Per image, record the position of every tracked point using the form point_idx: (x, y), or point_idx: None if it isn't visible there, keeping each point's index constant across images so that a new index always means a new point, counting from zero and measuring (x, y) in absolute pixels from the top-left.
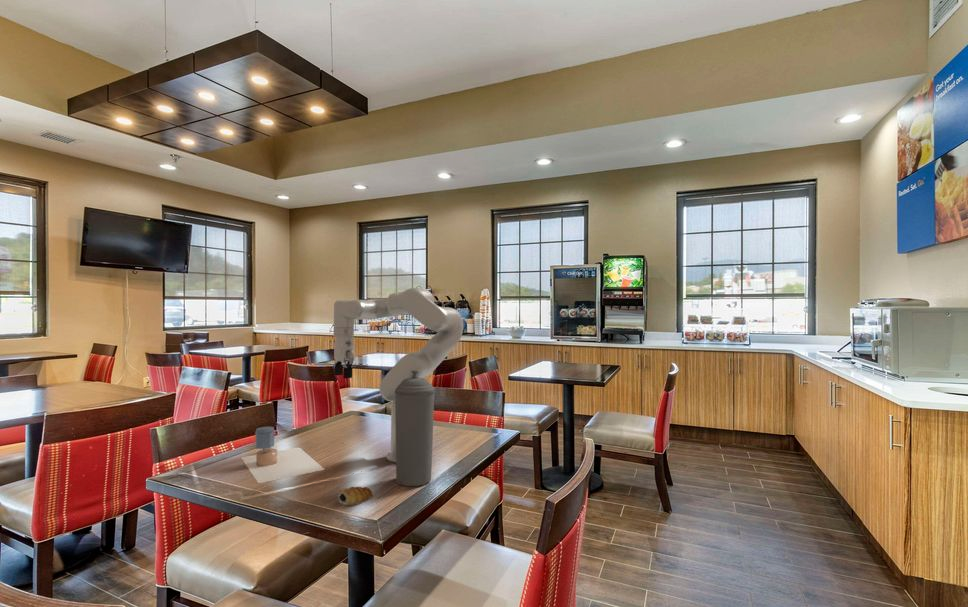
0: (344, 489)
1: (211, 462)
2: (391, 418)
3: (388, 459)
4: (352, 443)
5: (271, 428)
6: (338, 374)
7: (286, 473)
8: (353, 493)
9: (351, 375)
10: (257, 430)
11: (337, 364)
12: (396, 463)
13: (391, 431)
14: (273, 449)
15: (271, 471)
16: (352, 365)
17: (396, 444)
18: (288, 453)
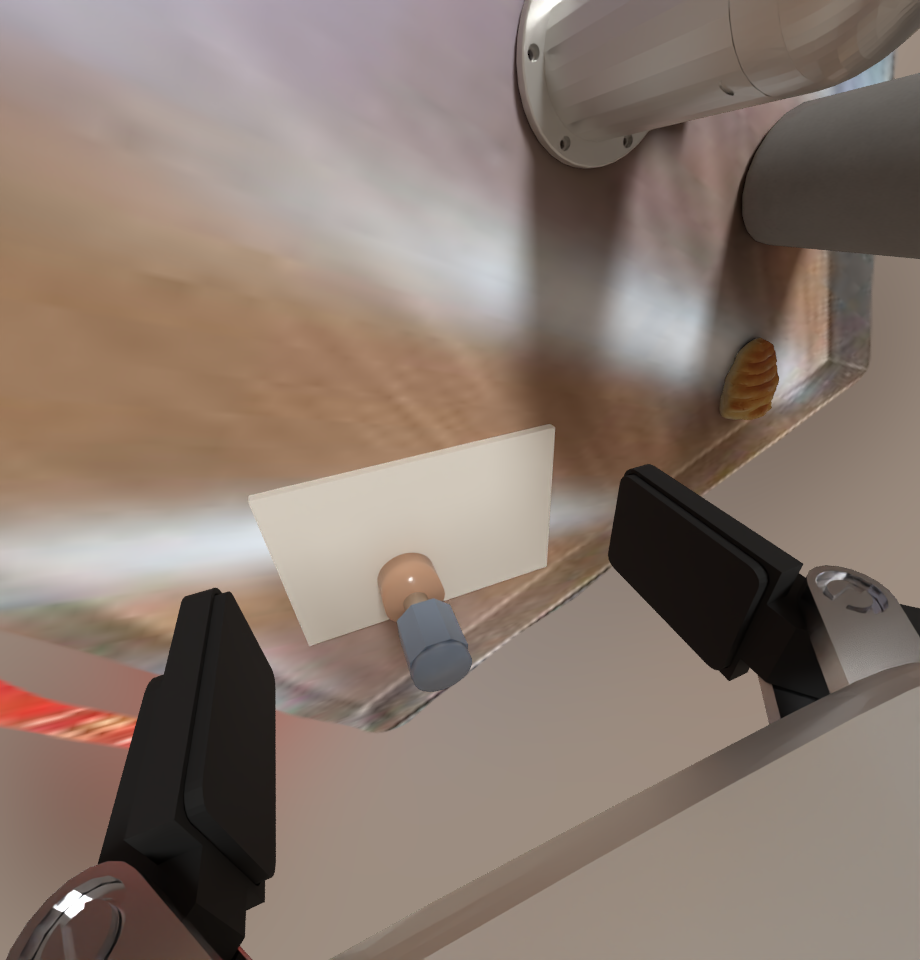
0: (746, 409)
1: (297, 692)
2: (745, 98)
3: (594, 167)
4: (204, 232)
5: (452, 654)
6: (255, 649)
7: (521, 520)
8: (773, 394)
9: (667, 486)
10: (456, 682)
11: (240, 906)
12: (815, 247)
13: (677, 118)
14: (402, 589)
15: (484, 554)
16: (884, 592)
17: (896, 255)
18: (325, 531)
